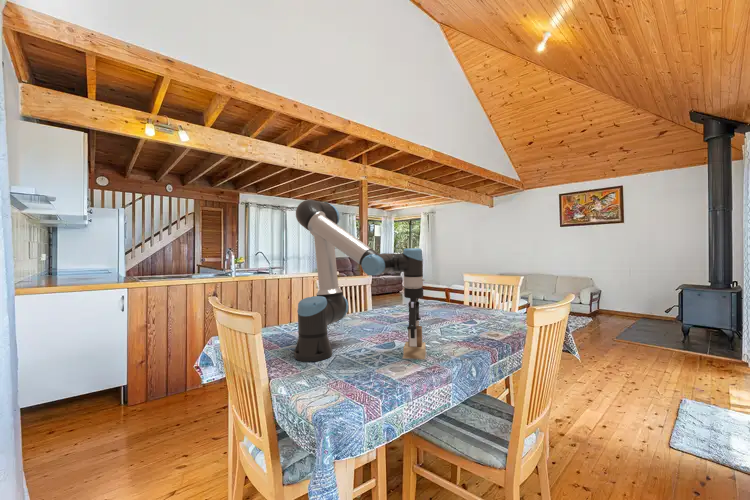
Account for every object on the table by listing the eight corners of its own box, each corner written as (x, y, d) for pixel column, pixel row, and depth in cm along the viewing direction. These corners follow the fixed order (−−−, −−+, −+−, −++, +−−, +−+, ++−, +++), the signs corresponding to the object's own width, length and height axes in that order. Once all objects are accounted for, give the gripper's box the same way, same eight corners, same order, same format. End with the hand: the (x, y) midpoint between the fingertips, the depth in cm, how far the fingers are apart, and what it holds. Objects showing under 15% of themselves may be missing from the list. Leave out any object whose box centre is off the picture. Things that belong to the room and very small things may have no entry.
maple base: (403, 358, 125) (403, 347, 125) (405, 351, 133) (405, 341, 133) (424, 359, 123) (424, 348, 123) (425, 352, 131) (425, 342, 131)
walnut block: (408, 346, 126) (408, 328, 126) (409, 342, 131) (409, 325, 131) (421, 347, 125) (421, 329, 125) (422, 343, 130) (422, 326, 130)
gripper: (421, 291, 115) (422, 351, 115) (424, 283, 139) (425, 333, 139) (400, 291, 116) (401, 350, 117) (407, 283, 141) (408, 332, 141)
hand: (414, 341), depth 128 cm, fingers open, 13 cm apart
